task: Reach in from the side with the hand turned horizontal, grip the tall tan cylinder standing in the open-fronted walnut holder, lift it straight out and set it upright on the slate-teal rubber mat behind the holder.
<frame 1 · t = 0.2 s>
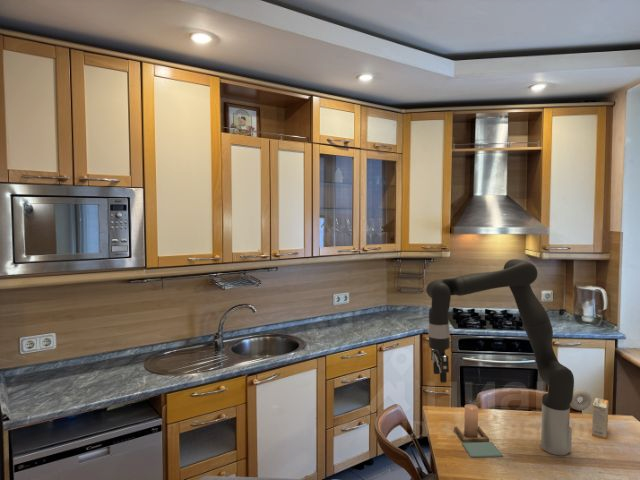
hand: (439, 377, 156), 29 cm above the table, tool pointing down, fingers open, 8 cm apart
holder: (470, 435, 170), on the table
mat: (481, 450, 159), on the table
tall tan cylinder: (471, 421, 170), in the holder
donut: (579, 410, 191), on the table
supplement box: (599, 434, 171), on the table
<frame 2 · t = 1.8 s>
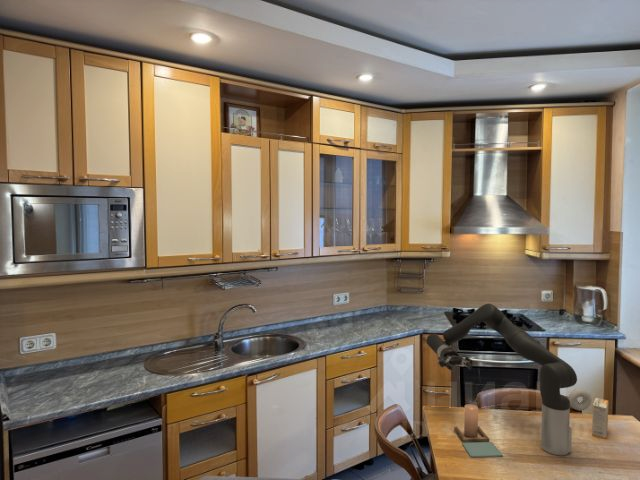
hand: (461, 367, 179), 24 cm above the table, tool horizontal, fingers open, 8 cm apart
nothing on the table moved.
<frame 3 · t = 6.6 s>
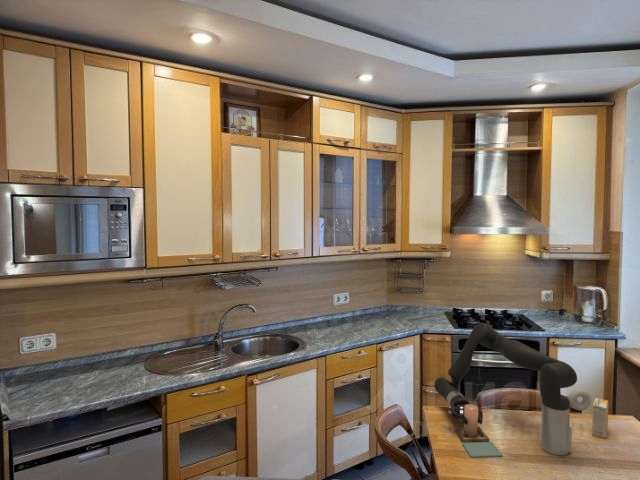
hand: (473, 422, 167), 7 cm above the table, tool horizontal, fingers closed on tall tan cylinder, 5 cm apart
tall tan cylinder: (471, 421, 170), in the holder, touching gripper
everything else where it was.
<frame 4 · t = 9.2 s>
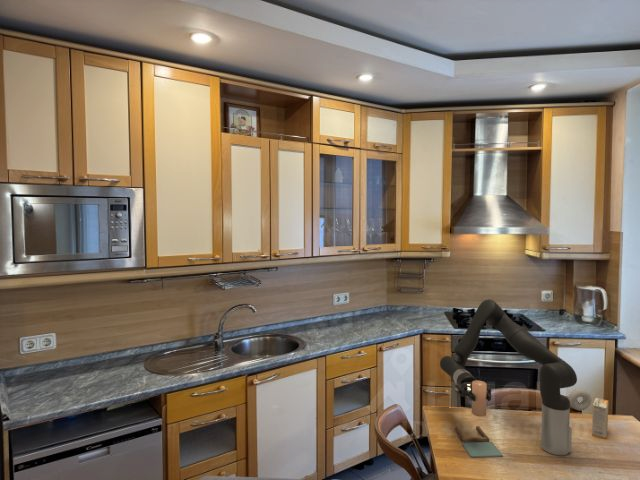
hand: (482, 398, 159), 20 cm above the table, tool horizontal, fingers closed on tall tan cylinder, 5 cm apart
tall tan cylinder: (479, 398, 162), point 19 cm above the table, touching gripper
everything else where it was.
when the fingers open (9 cm above the table, at t = 12.1 s): tall tan cylinder stays where it is, resting on mat.
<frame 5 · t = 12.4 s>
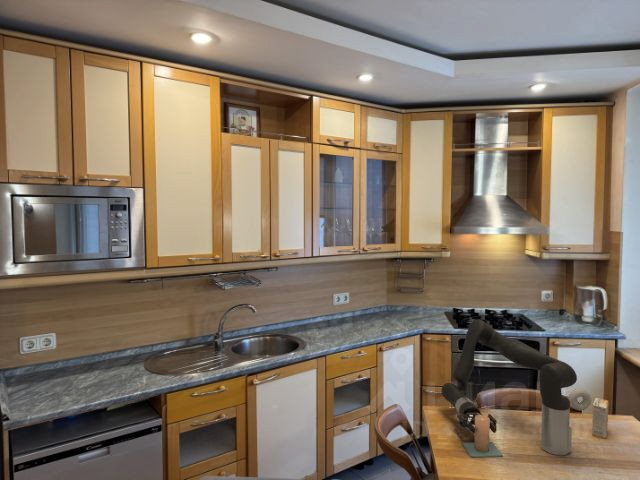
hand: (484, 430, 157), 9 cm above the table, tool horizontal, fingers open, 7 cm apart
tall tan cylinder: (482, 433, 159), on the mat, point 7 cm above the table
everything else where it was.
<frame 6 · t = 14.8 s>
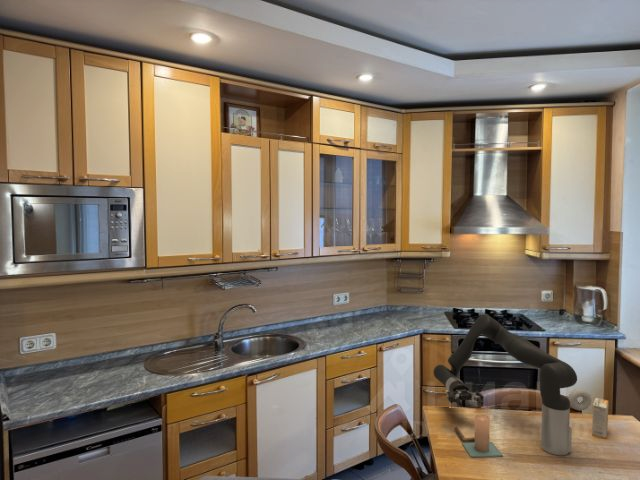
hand: (471, 404, 171), 12 cm above the table, tool horizontal, fingers open, 8 cm apart
nothing on the table moved.
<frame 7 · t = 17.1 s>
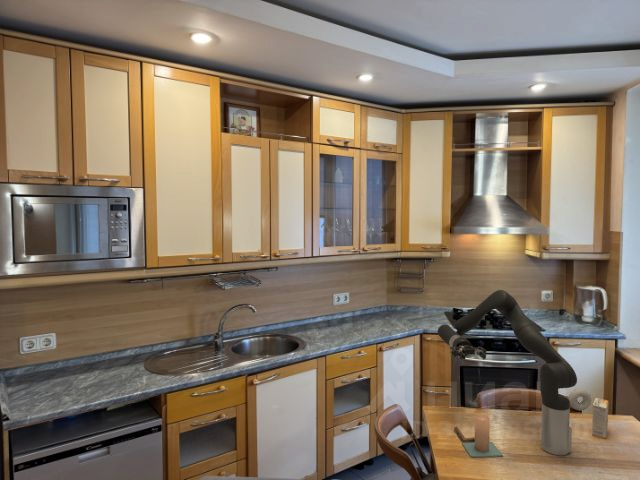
hand: (474, 357, 175), 30 cm above the table, tool horizontal, fingers open, 8 cm apart
nothing on the table moved.
at the end: tall tan cylinder inside the target area on the mat (0.1 cm from its centre), point 6.6 cm above the mat's base; tall tan cylinder tilted 0°; the gripper is holding nothing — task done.
